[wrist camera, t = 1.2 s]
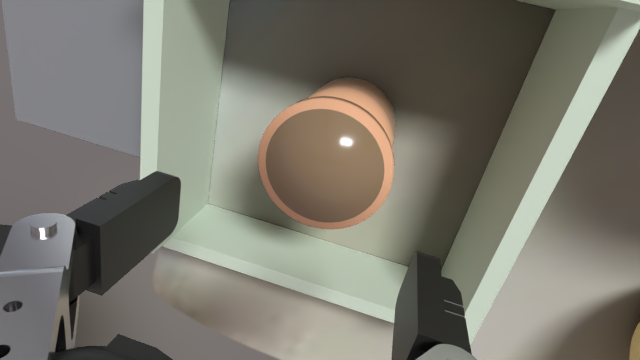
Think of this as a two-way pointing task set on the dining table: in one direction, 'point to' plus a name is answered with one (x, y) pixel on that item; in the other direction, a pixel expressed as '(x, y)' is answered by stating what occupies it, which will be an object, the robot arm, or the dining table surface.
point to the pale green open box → (341, 262)
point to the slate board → (78, 68)
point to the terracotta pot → (331, 155)
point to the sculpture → (635, 344)
